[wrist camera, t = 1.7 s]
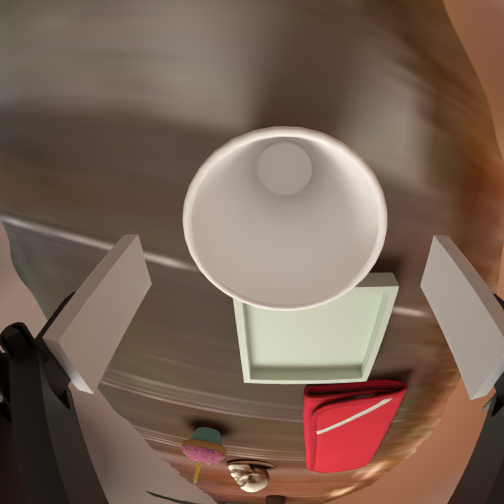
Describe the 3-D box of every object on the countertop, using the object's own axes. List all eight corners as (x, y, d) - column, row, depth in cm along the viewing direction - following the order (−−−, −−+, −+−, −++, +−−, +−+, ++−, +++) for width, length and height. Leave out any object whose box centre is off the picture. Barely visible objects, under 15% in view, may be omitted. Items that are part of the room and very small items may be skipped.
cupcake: (219, 442, 53) (211, 492, 43) (181, 430, 52) (169, 480, 42) (236, 431, 49) (228, 487, 39) (193, 418, 48) (180, 475, 38)
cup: (363, 133, 21) (422, 175, 12) (319, 237, 26) (335, 328, 17) (241, 91, 20) (207, 98, 11) (210, 204, 26) (169, 283, 16)
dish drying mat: (306, 464, 60) (305, 477, 57) (300, 383, 39) (300, 405, 36) (367, 458, 58) (368, 470, 54) (406, 371, 37) (412, 391, 33)
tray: (235, 272, 29) (231, 286, 27) (392, 272, 27) (399, 286, 26) (246, 368, 37) (244, 382, 35) (364, 367, 36) (366, 381, 34)
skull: (218, 469, 64) (222, 490, 54) (232, 441, 66) (237, 460, 56) (259, 478, 65) (267, 499, 55) (274, 451, 67) (284, 470, 57)
